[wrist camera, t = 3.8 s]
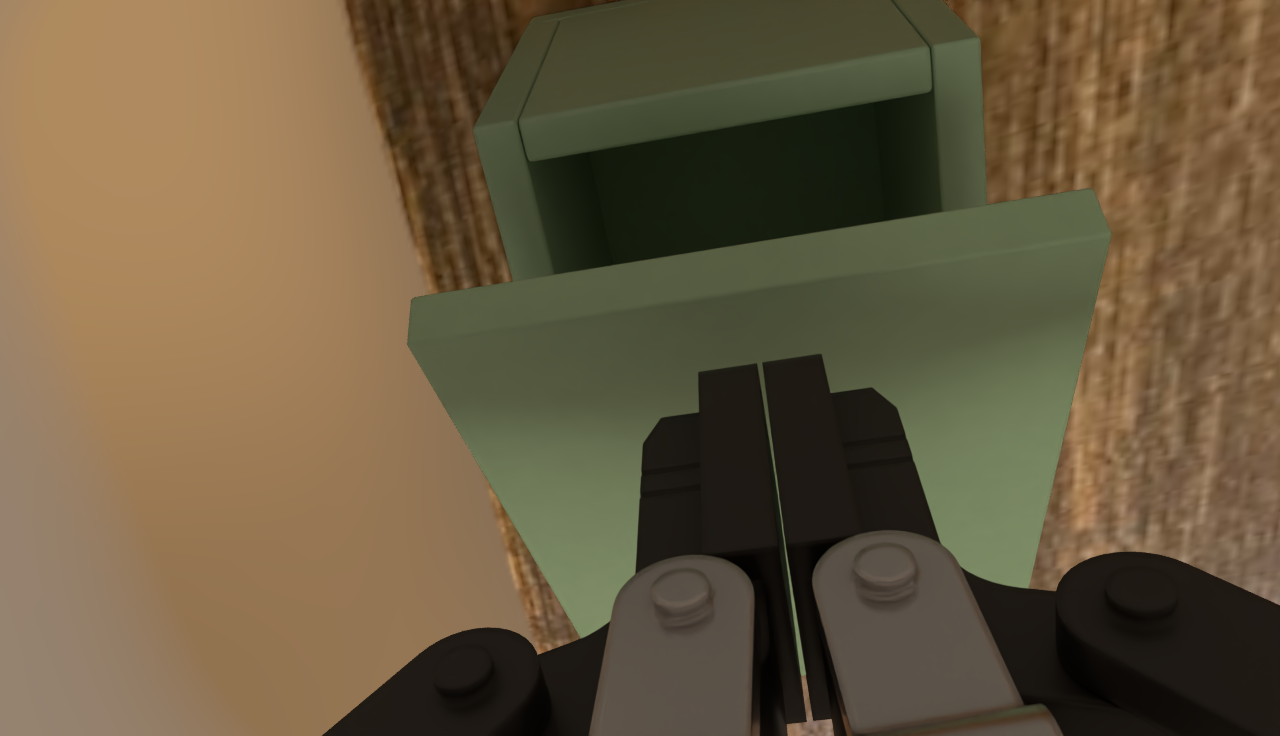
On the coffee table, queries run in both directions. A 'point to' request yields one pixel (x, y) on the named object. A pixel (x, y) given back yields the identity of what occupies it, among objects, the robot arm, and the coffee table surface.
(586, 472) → the lunchbox lid
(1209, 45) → the coffee table surface
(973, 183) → the lunchbox
